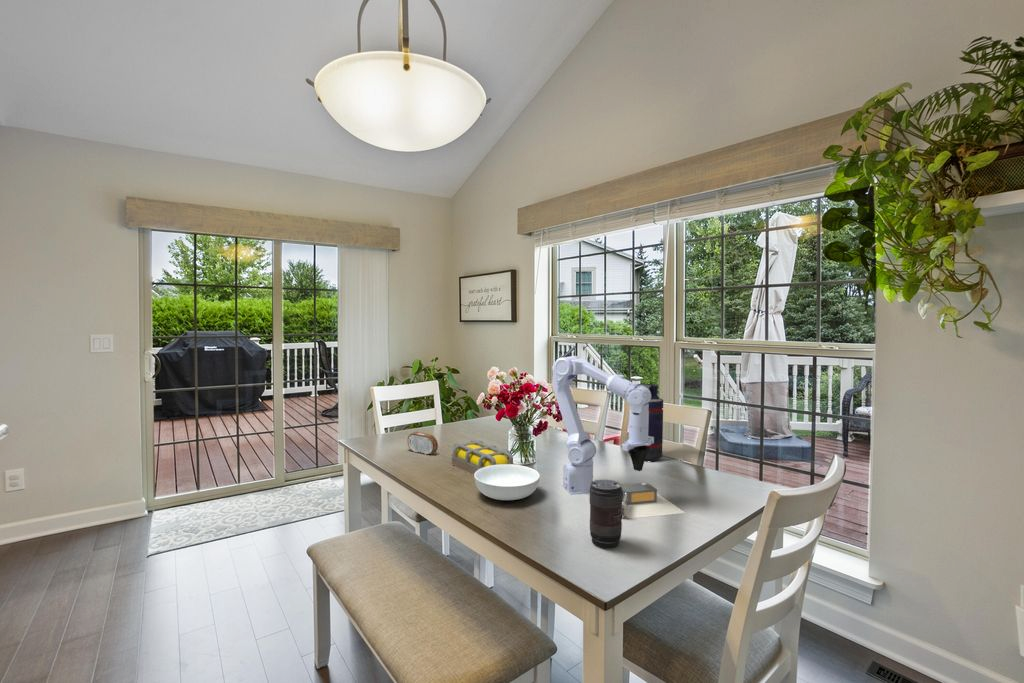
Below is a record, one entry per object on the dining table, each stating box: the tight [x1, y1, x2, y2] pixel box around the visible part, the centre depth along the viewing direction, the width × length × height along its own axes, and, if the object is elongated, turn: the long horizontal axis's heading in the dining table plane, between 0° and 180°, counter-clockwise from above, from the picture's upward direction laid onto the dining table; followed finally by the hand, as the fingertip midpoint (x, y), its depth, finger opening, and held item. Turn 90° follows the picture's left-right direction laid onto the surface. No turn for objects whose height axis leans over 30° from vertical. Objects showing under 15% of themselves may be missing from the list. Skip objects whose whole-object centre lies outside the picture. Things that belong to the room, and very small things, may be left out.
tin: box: [407, 431, 439, 455], centre depth 199 cm, size 15×3×8 cm, turn 58°
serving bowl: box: [473, 464, 541, 501], centre depth 153 cm, size 21×21×7 cm
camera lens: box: [589, 479, 623, 550], centre depth 120 cm, size 8×8×15 cm
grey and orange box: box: [621, 482, 658, 505], centre depth 148 cm, size 11×6×5 cm, turn 103°
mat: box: [624, 493, 686, 519], centre depth 144 cm, size 18×16×1 cm
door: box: [621, 493, 628, 519], centre depth 139 cm, size 10×1×4 cm, turn 161°
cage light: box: [451, 439, 515, 476], centre depth 180 cm, size 15×8×30 cm
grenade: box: [637, 383, 664, 462], centre depth 192 cm, size 14×12×30 cm
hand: (637, 470), depth 147 cm, fingers closed
